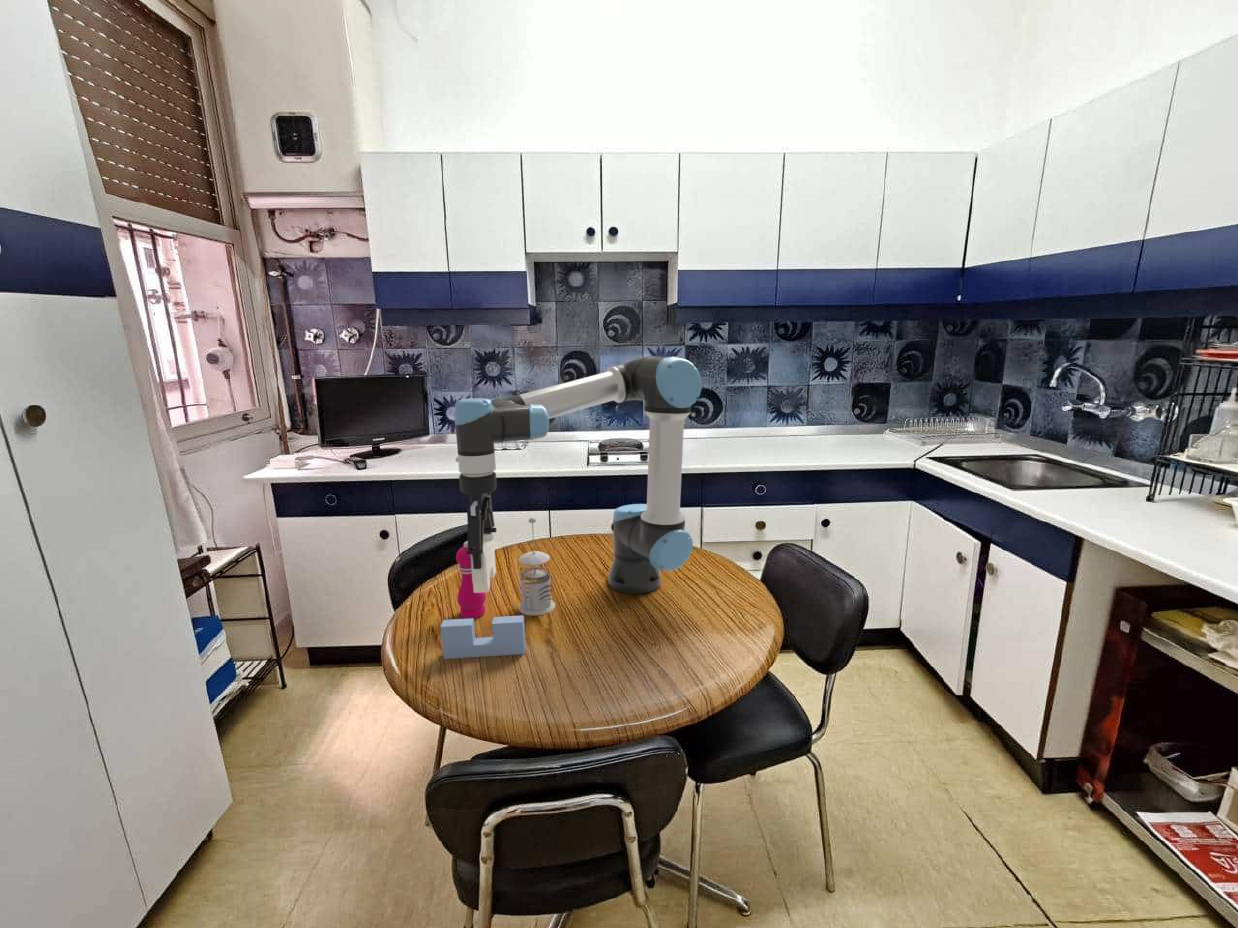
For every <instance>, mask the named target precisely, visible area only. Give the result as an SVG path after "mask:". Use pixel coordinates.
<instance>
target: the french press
mask: <svg viewBox="0 0 1238 928" xmlns="http://www.w3.org/2000/svg"><path fill="white" fill-rule="evenodd" d="M529 523H530V524H531V528H532V532H534V523H537V519H536V518H535V517H530V518H528V524H529ZM534 535H535V534H534V533H532V543H533V544H532V545H533V551H529V552H524V554H523V555H521V556H520V557H518V562H519V563H520V564H521V565H523V566H527V567H529V568H526V569H524V568H522V569H521V571H520V572H519V575H518V579H517V590H518V593H519V594H520V595H521V603H520V604H519V605H518V611H519V612H520V614H521V613H522V615H523V614H524V615H526V616H531V617H532V616H542V615H544V614H549V613H550V612H552V611H553V610H554V609H555V607H556V603H555V601H553V600H552V595H551V594H552V591H551V585H552V584H551V575H550V574H549V573H550V572H549V570H548V569H547V568H545V567H539V566H541V565H544V564H546V563H548V561H550V558H551V557H550V555H549V554H547V553H546V552H542V551H538V550H536V551H535V538H534ZM519 580H520V583H519ZM527 581H529V582H527ZM530 581H531V582H530ZM532 581H533V582H532ZM519 584H520V586H519Z"/></svg>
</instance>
